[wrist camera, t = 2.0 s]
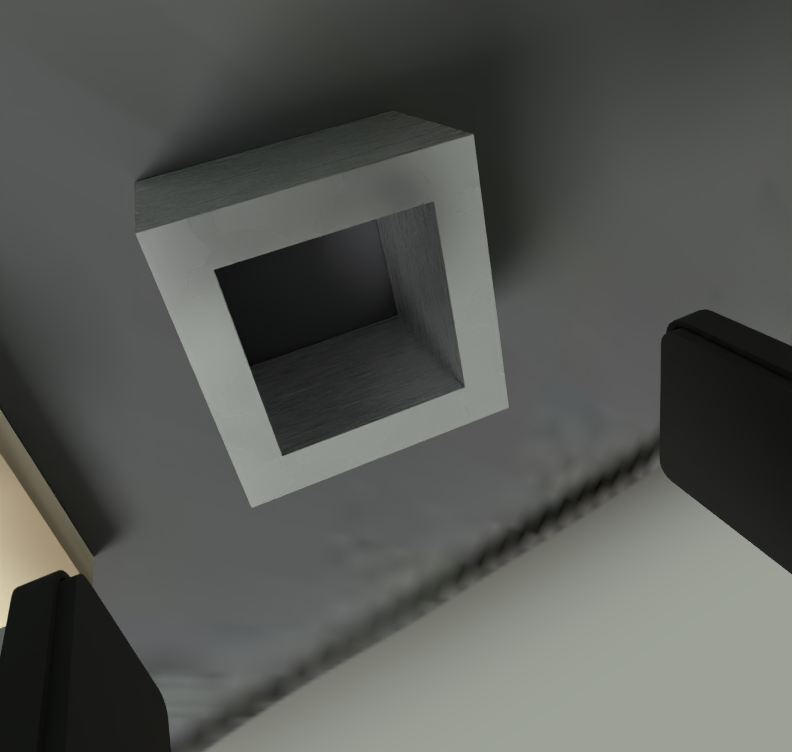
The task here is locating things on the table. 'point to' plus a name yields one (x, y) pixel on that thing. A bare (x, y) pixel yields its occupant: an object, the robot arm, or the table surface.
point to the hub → (353, 351)
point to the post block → (32, 525)
